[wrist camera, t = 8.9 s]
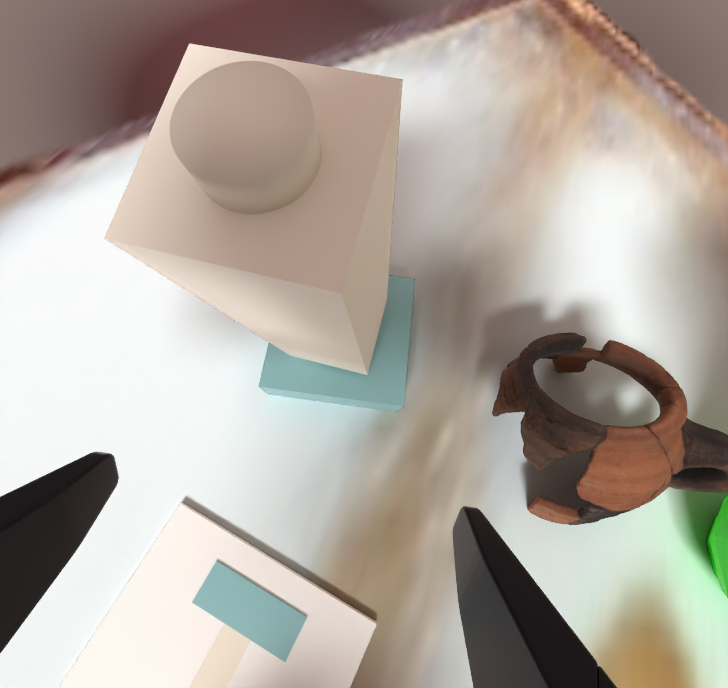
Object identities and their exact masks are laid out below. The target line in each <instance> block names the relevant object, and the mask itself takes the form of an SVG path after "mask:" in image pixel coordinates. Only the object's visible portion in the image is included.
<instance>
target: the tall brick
mask: <svg viewBox="0 0 728 688" xmlns="http://www.w3.org/2000/svg"><path fill="white" fill-rule="evenodd" d="M402 81H403V79H397V78H391V77H385V76H379V75H373V74H367V73H361V72H355V71H349V70H343V69H337V68H331V67H325V66H319V65H313V64H308V63H302V62H296V61H290V60H283V59H278V58H271V57H266V56H260V55H254V54H248V53H242V52H236V51H230V50H223V49H217V48H212V47H206V46H200V45H194V44H189V46H188V48H187V50H186V53H185V55H184V57H183V60H182V62H181V64H180V67H179V69H178V71H177V73H176V75H175V78H174V80H173V82H172V85H171V87H170V89H169V92H168V94H167V96H166V98H165V101H164V103H163V105H162V107H161V110H160V112H159V114H158V117H157V119H156V121H155V123H154V126H153V128H152V130H151V133H150V135H149V137H148V139H147V142H146V144H145V146H144V149H143V151H142V153H141V155H140V158H139V160H138V162H137V165H136V167H135V169H134V171H133V174H132V176H131V178H130V181H129V183H128V185H127V187H126V190H125V192H124V194H123V197H122V199H121V201H120V203H119V206H118V208H117V210H116V213H115V215H114V217H113V219H112V222H111V224H110V226H109V229H108V231H107V233H106V235H105V238H104V239H106V240H107V241H109V242H110V243H112V244H114V245H115V246H117V247H118V248H120V249H122V250H123V251H125V252H126V253H128V254H130V255H131V256H133V257H134V258H136V259H137V260H139V261H141V262H142V263H144V264H145V265H147V266H149V267H150V268H152V269H153V270H155V271H157V272H158V273H160V274H161V275H163V276H164V277H166V278H168V279H169V280H171V281H172V282H174V283H176V284H177V285H179V286H180V287H182V288H184V289H185V290H187V291H188V292H190V293H191V294H193V295H195V296H196V297H198V298H199V299H201V300H203V301H204V302H206V303H207V304H209V305H211V306H212V307H214V308H215V309H217V310H218V311H220V312H222V313H223V314H225V315H226V316H228V317H230V318H231V319H233V320H234V321H236V322H238V323H239V324H241V325H242V326H244V327H246V328H247V329H249V330H250V331H252V332H253V333H255V334H257V335H258V336H260V337H261V338H263V339H265V340H266V341H268V342H269V343H271V344H273V345H274V346H276V347H277V348H279V349H280V350H282V351H284V352H285V353H287V354H288V355H290V356H294V357H298V358H302V359H305V360H309V361H313V362H317V363H321V364H325V365H329V366H333V367H337V368H341V369H345V370H349V371H353V372H357V373H361V374H365V375H368V371H369V368H370V364H371V360H372V356H373V352H374V348H375V344H376V340H377V336H378V332H379V328H380V325H381V321H382V317H383V313H384V309H385V305H386V301H387V291H388V277H389V263H390V249H391V235H392V221H393V207H394V193H395V179H396V165H397V151H398V137H399V123H400V109H401V95H402Z"/></svg>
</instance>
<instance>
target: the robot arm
mask: <svg viewBox="0 0 728 688" xmlns="http://www.w3.org/2000/svg"><path fill="white" fill-rule="evenodd" d="M118 478H119V476H118V471H117V467H116V462H115V458H114V456H113V455H112V454H110V453H103V452H93V453H90V454H88V455H86V456H84V457H82V458H80V459H78V460H76V461H73V462H71V463H69V464H67V465H65V466H63V467H61V468H59V469H57V470H55V471H53V472H51V473H49V474H47V475H44V476H42V477H40V478H38V479H36V480H34V481H32V482H30V483H28V484H26V485H24V486H22V487H20V488H18V489H16V490H13V491H11V492H9V493H7V494H5V495H3V496H1V497H0V653H1V652H2V651H3V649H4V648H5V646H6V645H7V644H8V642H9V641H10V640H11V638H12V637H13V636H14V634H15V633H16V632H17V630H18V629H19V627H20V626H21V625H22V623H23V622H24V621H25V619H26V618H27V617H28V615H29V614H30V613H31V611H32V610H33V609H34V607H35V606H36V604H37V603H38V602H39V600H40V599H41V598H42V596H43V595H44V594H45V592H46V591H47V590H48V588H49V587H50V586H51V584H52V583H53V581H54V580H55V579H56V577H57V576H58V575H59V573H60V572H61V571H62V569H63V568H64V567H65V565H66V564H67V563H68V561H69V560H70V558H71V557H72V556H73V554H74V553H75V551H76V550H77V549H78V547H79V546H80V544H81V543H82V541H83V539H84V538H85V536H86V535H87V533H88V531H89V530H90V528H91V527H92V525H93V523H94V522H95V520H96V518H97V517H98V515H99V513H100V512H101V510H102V509H103V507H104V505H105V504H106V502H107V500H108V499H109V497H110V496H111V494H112V492H113V491H114V489H115V487H116V485H117V483H118ZM453 545H454V557H455V569H456V581H457V592H458V602H459V608H460V615H461V620H462V626H463V631H464V637H465V642H466V648H467V653H468V659H469V664H470V670H471V676H472V681H473V687H474V688H617V687H616V686H615V685H614V683H613V682H612V681H611V679H610V678H609V677H608V675H607V674H606V673H605V672H604V670H603V669H602V668H601V667H600V666H598V665H597V662H596V660H595V659H594V658H593V656H592V655H591V654H590V652H589V651H588V650H587V648H586V647H585V646H584V645H583V643H582V642H581V641H580V639H579V638H578V637H577V635H576V634H575V633H574V632H573V630H572V629H571V628H570V626H569V625H568V624H567V622H566V621H565V620H564V619H563V617H562V616H561V615H560V613H559V612H558V611H557V609H556V608H555V607H554V606H553V604H552V603H551V602H550V600H549V599H548V598H547V596H546V595H545V594H544V593H543V591H542V590H541V589H540V587H539V586H538V585H537V584H536V582H535V581H534V580H533V578H532V577H531V576H530V574H529V573H528V572H527V571H526V569H525V568H524V567H523V565H522V564H521V563H520V561H519V560H518V559H517V558H516V556H515V555H514V554H513V552H512V551H511V550H510V548H509V547H508V546H507V545H506V543H505V542H504V541H503V539H502V538H501V537H500V535H499V534H498V533H497V532H496V530H495V529H494V528H493V526H492V525H491V524H490V522H489V521H488V520H487V519H486V517H485V516H484V515H483V513H482V512H481V511H480V510H479V509H477V508H473V507H466V506H464V507H462V508H461V510H460V512H459V514H458V517H457V519H456V522H455V524H454V527H453Z"/></svg>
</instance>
